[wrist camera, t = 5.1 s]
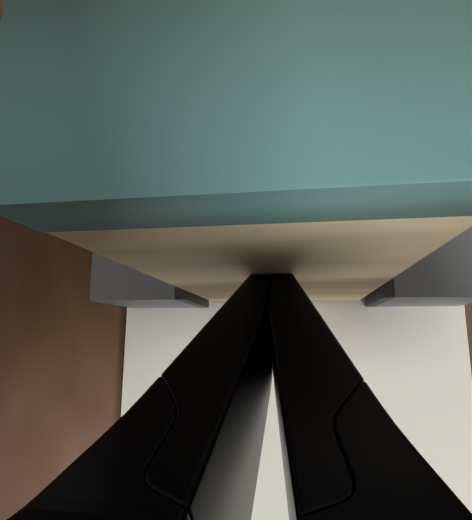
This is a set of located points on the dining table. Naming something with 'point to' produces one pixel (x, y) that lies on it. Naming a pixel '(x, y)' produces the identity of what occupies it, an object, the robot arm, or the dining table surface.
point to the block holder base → (355, 345)
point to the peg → (240, 135)
